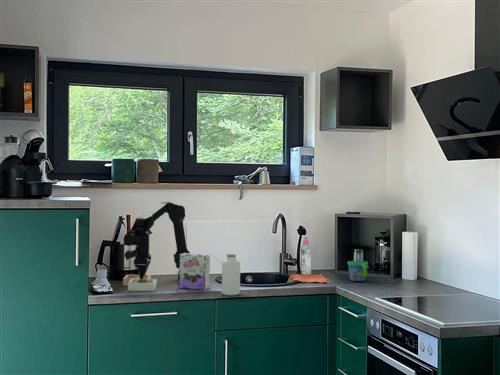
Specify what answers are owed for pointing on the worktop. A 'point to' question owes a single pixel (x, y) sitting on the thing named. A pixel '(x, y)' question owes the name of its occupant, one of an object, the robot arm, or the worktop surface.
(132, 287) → the cream dish
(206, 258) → the candy box
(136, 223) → the robot arm
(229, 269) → the potion bottle
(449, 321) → the worktop surface
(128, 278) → the terracotta dish
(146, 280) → the walnut block
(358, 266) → the snack cup
